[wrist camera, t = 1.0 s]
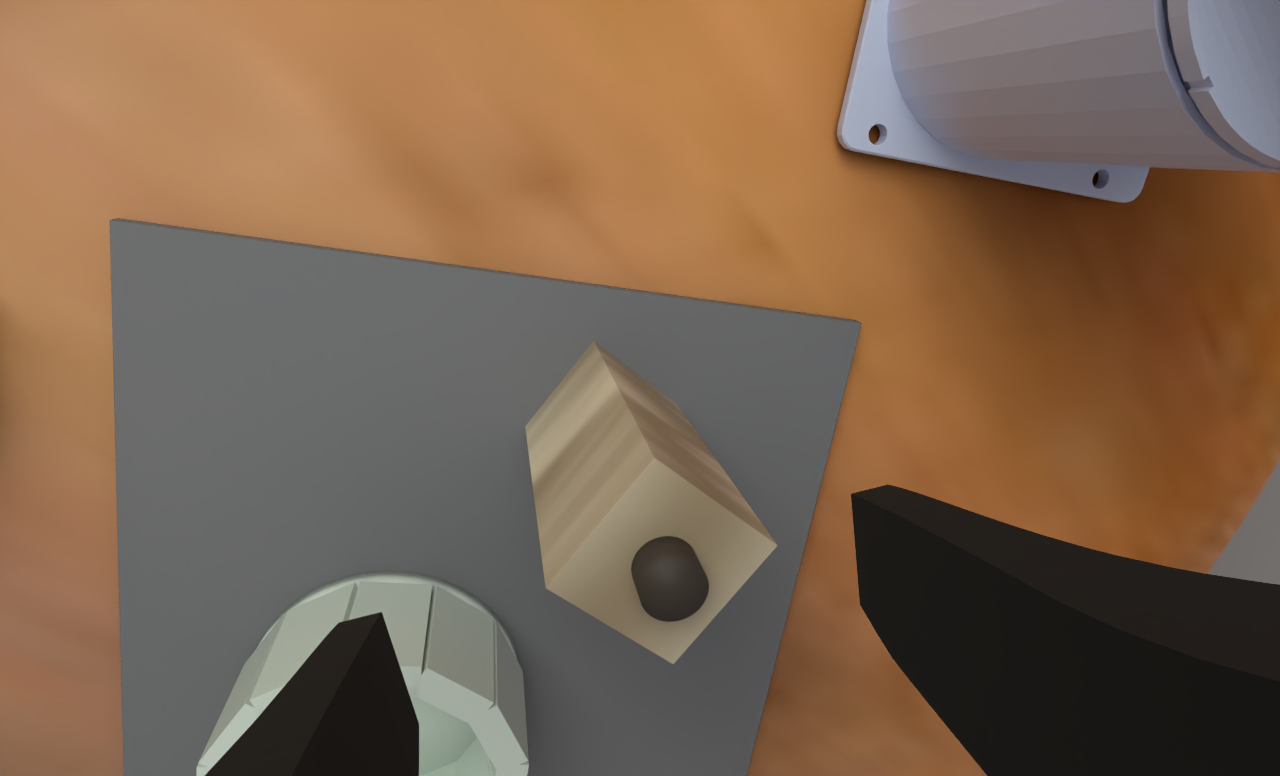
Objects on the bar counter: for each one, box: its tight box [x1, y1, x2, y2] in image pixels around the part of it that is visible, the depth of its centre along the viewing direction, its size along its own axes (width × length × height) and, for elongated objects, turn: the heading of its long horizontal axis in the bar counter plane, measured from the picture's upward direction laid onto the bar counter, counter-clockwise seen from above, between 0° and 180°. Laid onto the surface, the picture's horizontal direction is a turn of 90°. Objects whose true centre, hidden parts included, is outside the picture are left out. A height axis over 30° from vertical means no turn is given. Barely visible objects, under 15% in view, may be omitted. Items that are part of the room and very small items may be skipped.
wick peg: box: [525, 341, 778, 664], centre depth 17 cm, size 3×3×9 cm
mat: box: [110, 218, 862, 776], centre depth 22 cm, size 19×17×1 cm
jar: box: [196, 571, 529, 776], centre depth 20 cm, size 8×8×4 cm
